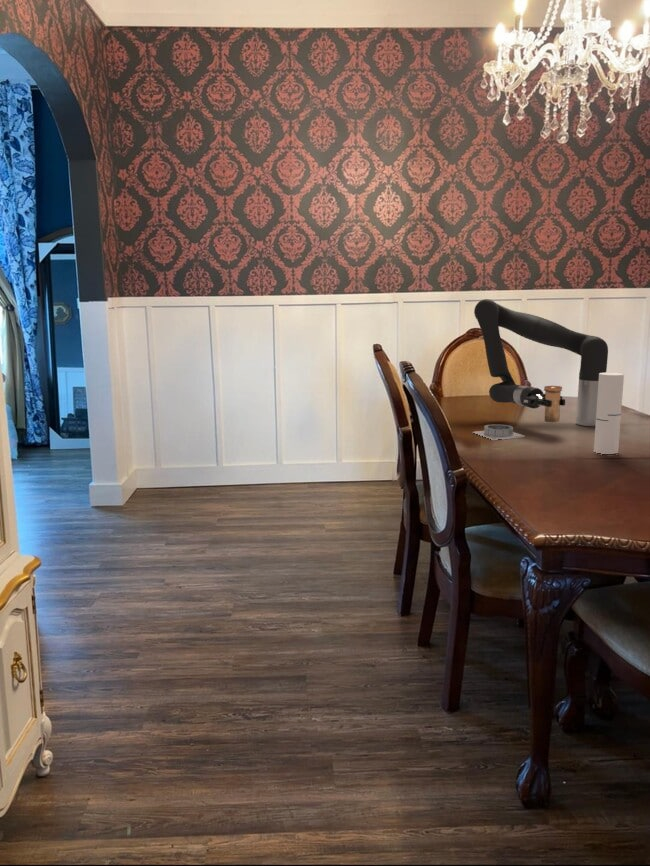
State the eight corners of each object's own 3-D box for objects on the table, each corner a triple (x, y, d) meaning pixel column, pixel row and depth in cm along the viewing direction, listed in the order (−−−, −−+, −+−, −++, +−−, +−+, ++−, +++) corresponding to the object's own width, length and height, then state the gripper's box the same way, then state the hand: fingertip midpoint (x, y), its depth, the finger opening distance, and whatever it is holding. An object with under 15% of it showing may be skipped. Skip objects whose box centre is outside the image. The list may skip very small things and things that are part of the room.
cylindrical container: (620, 455, 216) (626, 375, 211) (595, 454, 217) (601, 375, 212) (615, 450, 223) (621, 372, 218) (591, 449, 224) (597, 372, 219)
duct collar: (503, 430, 255) (504, 422, 255) (524, 437, 243) (525, 429, 243) (472, 433, 251) (473, 425, 251) (492, 440, 239) (492, 431, 239)
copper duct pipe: (553, 418, 246) (554, 385, 243) (564, 421, 240) (565, 387, 238) (539, 420, 244) (540, 386, 242) (550, 423, 239) (551, 388, 236)
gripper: (511, 388, 251) (540, 394, 235) (545, 385, 256) (575, 390, 240) (511, 408, 253) (539, 415, 237) (544, 405, 257) (574, 412, 241)
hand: (557, 403), depth 239 cm, fingers closed on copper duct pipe, 5 cm apart
